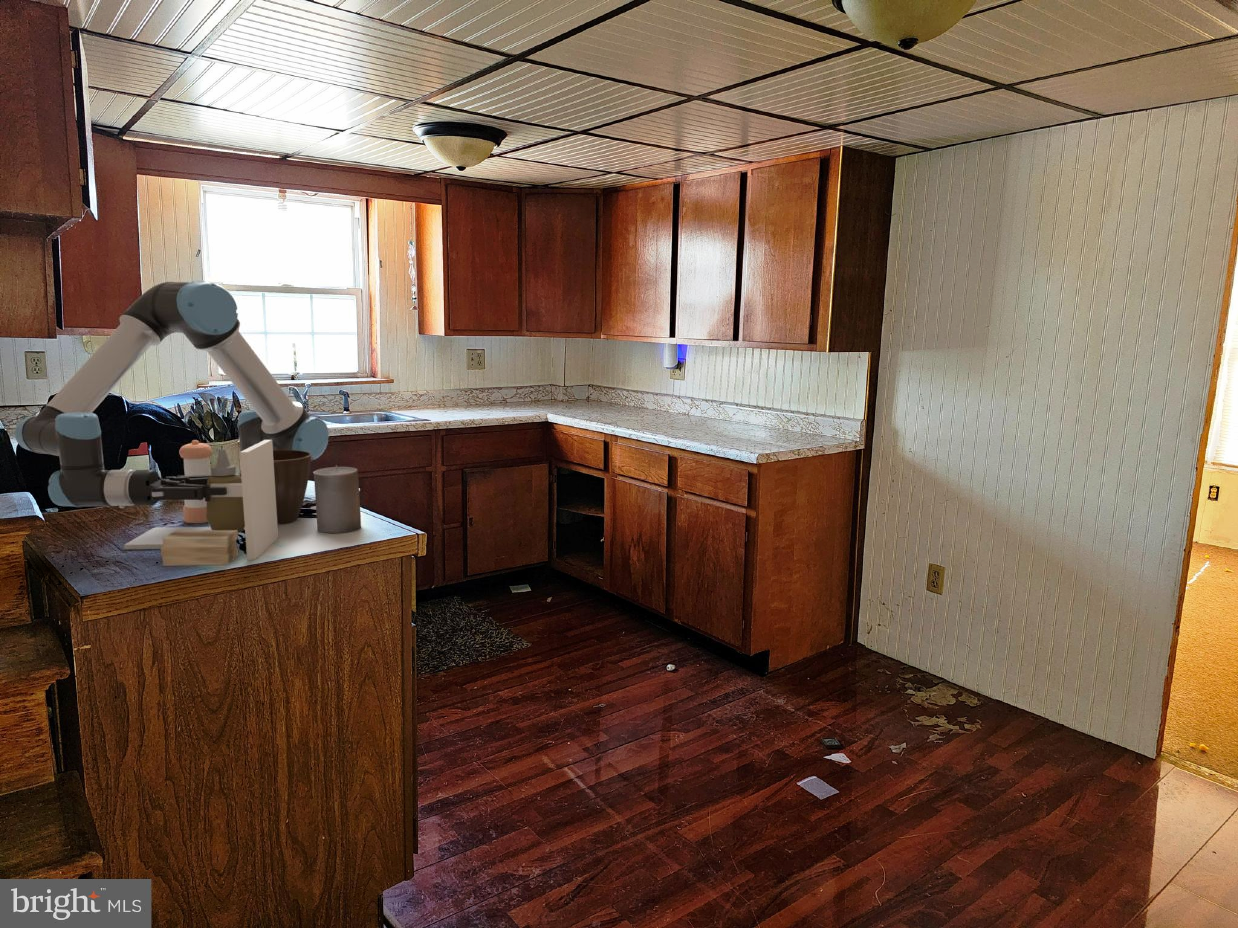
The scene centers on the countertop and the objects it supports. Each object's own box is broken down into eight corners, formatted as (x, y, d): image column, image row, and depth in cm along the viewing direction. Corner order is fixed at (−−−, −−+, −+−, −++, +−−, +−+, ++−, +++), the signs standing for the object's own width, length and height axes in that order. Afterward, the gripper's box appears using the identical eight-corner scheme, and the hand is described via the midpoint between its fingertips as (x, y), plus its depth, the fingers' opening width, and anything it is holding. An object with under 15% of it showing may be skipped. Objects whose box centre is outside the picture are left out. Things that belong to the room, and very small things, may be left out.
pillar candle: (356, 521, 195) (353, 459, 192) (365, 530, 187) (361, 466, 184) (314, 526, 191) (309, 463, 188) (320, 535, 182) (316, 470, 179)
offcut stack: (175, 556, 165) (173, 530, 164) (240, 555, 167) (238, 529, 166) (161, 565, 159) (158, 539, 158) (228, 564, 160) (226, 538, 159)
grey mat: (154, 531, 183) (154, 527, 183) (219, 530, 185) (219, 526, 184) (124, 549, 169) (124, 544, 169) (195, 548, 171) (195, 543, 171)
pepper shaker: (219, 514, 199) (213, 437, 196) (216, 521, 192) (210, 442, 189) (186, 517, 196) (179, 438, 193) (182, 524, 190) (175, 443, 186)
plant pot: (325, 514, 201) (322, 450, 198) (296, 529, 187) (292, 461, 184) (268, 511, 203) (264, 448, 200) (234, 527, 188) (229, 459, 185)
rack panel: (271, 538, 179) (264, 439, 175) (278, 538, 180) (272, 439, 176) (247, 559, 164) (239, 452, 160) (254, 559, 164) (247, 452, 160)
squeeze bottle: (201, 532, 174) (193, 449, 170) (239, 525, 180) (233, 445, 176) (217, 539, 168) (210, 454, 165) (256, 532, 174) (249, 449, 171)
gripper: (156, 494, 180) (265, 493, 183) (113, 516, 161) (235, 514, 164) (153, 461, 179) (263, 460, 181) (109, 479, 160) (232, 478, 163)
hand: (249, 486), depth 173 cm, fingers closed on squeeze bottle, 6 cm apart
